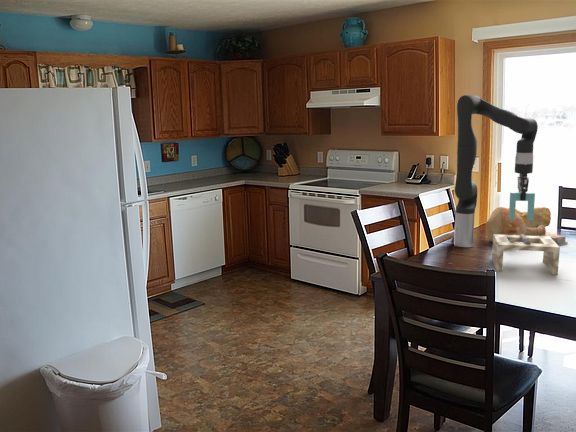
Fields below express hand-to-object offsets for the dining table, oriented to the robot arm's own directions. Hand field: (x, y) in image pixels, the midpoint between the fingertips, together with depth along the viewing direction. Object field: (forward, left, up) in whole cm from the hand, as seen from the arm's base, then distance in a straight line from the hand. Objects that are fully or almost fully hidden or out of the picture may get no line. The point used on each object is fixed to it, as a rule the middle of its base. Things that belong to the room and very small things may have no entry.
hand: (521, 199), depth 256 cm
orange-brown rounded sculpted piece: (+2, +29, -28) cm, 40 cm away
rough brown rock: (+14, +59, -28) cm, 67 cm away
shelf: (0, -16, -28) cm, 32 cm away
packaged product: (+20, +37, -28) cm, 50 cm away
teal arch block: (0, 0, -9) cm, 9 cm away
